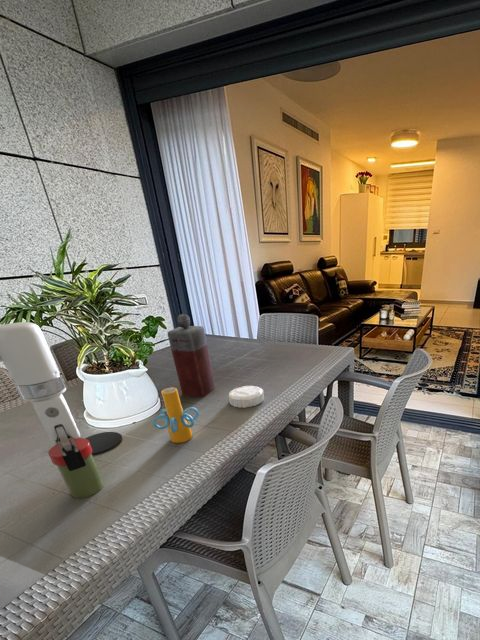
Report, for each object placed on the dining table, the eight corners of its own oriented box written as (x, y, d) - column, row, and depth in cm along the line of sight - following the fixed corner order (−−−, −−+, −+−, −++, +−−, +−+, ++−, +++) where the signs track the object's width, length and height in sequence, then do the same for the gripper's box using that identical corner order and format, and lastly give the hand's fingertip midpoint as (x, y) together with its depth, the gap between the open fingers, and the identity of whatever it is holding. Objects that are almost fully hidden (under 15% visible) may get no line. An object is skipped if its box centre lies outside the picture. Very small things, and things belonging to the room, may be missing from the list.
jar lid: (88, 461, 76) (84, 452, 75) (47, 469, 74) (42, 460, 73) (95, 443, 82) (92, 435, 81) (58, 450, 80) (54, 441, 79)
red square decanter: (189, 385, 137) (172, 311, 123) (215, 387, 135) (201, 312, 121) (176, 394, 130) (156, 317, 116) (203, 397, 127) (186, 317, 113)
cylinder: (210, 433, 104) (200, 386, 96) (185, 451, 96) (171, 401, 88) (179, 426, 108) (167, 380, 101) (152, 442, 100) (137, 394, 93)
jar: (64, 494, 81) (44, 455, 76) (90, 477, 87) (73, 439, 81) (85, 500, 79) (66, 460, 74) (110, 482, 84) (94, 444, 79)
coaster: (65, 451, 98) (64, 449, 97) (101, 430, 107) (101, 429, 107) (96, 459, 94) (95, 457, 93) (131, 436, 103) (131, 435, 103)
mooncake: (271, 397, 124) (270, 388, 123) (247, 411, 116) (246, 401, 114) (246, 391, 130) (245, 382, 129) (222, 403, 122) (220, 393, 120)
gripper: (69, 394, 66) (101, 470, 75) (58, 371, 78) (86, 439, 87) (20, 406, 62) (60, 485, 71) (16, 380, 74) (50, 450, 83)
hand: (74, 459), depth 79 cm, fingers closed on jar lid, 7 cm apart
